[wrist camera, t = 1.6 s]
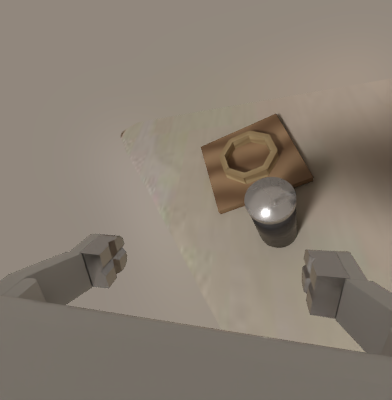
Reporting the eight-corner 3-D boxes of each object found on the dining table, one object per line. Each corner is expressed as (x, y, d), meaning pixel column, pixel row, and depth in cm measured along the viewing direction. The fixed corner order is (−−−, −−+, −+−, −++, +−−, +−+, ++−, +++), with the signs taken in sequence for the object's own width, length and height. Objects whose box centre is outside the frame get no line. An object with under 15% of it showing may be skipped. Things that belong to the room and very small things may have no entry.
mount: (203, 150, 50) (197, 140, 47) (276, 118, 46) (274, 105, 43) (220, 214, 41) (215, 206, 38) (313, 180, 37) (313, 169, 35)
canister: (268, 207, 38) (257, 171, 29) (304, 221, 35) (304, 185, 26) (252, 238, 37) (235, 209, 28) (288, 255, 34) (282, 229, 25)
